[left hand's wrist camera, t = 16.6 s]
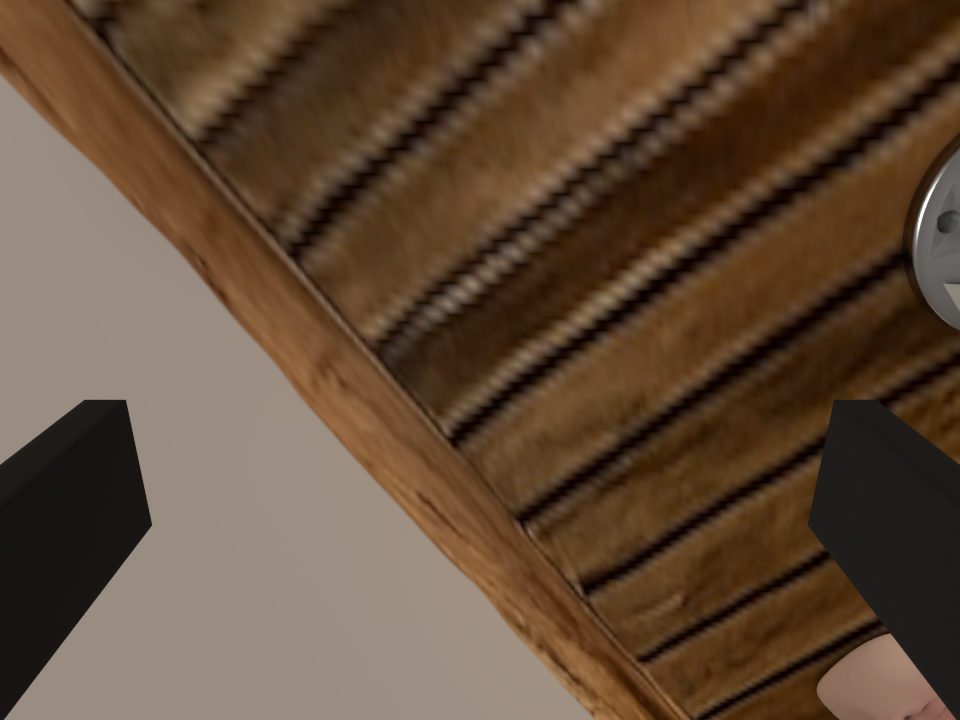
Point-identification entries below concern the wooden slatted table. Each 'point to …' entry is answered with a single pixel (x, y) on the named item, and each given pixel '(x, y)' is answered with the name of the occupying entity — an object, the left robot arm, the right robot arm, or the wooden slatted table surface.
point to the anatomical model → (880, 686)
